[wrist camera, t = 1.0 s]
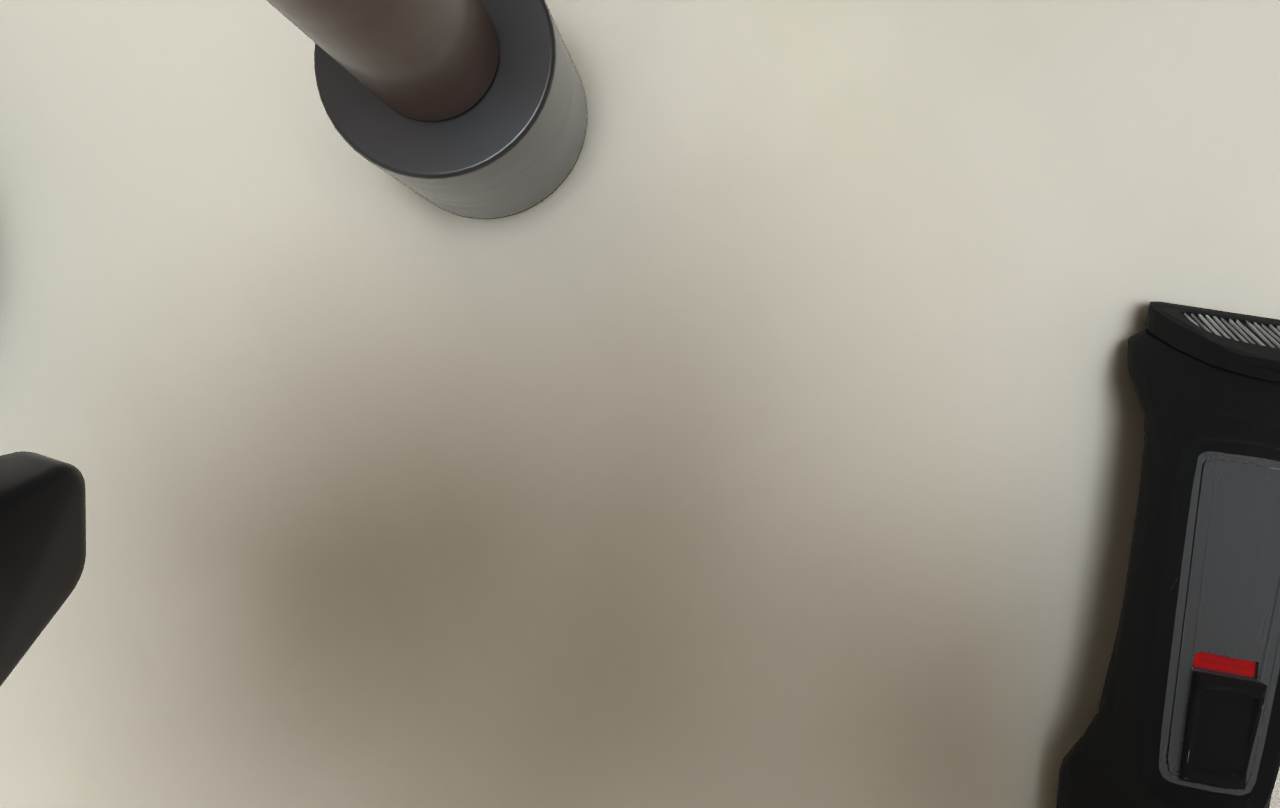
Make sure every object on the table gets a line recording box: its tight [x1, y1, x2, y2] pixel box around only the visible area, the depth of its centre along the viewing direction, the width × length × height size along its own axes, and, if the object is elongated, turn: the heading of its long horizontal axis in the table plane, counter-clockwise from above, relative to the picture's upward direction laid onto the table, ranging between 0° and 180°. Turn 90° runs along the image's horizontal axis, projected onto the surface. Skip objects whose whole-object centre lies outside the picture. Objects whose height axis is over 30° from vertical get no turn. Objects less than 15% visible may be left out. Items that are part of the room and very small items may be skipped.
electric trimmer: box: [1056, 302, 1280, 808], centre depth 19 cm, size 4×16×3 cm, turn 170°
